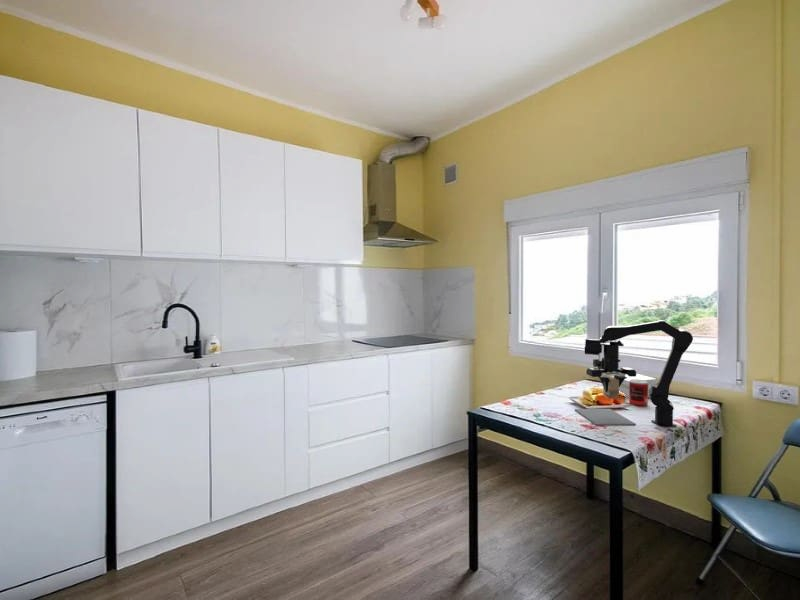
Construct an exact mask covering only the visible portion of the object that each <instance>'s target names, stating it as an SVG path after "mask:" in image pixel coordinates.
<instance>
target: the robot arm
mask: <svg viewBox="0 0 800 600" xmlns="http://www.w3.org/2000/svg"><path fill="white" fill-rule="evenodd" d="M660 331H662V332H663V333H664V334H667V335H668V336H669V337H672V342H671V348H670V349H671V350H670V352H669V355H668V358H667V359H666V362H665V365H664V368H663V370H662V372H661V375H660V377H659V380H657V384H656V385H655V384H653V383H652V386H651V389H650V390H649V395H650V397H649V399H650V402H651V403H652V404H653V406H655V407H654V408H655V409H654V419H652V420H651V422H652V423H653V424H655V425H657V426H659V427H677V426H678V425H677V424H675V423H674V409H675V407H674V405H673V403H672V401H671V400H670V399H669V394H670V387H671V383H672V381H673V379H674V376H675V374H676V371H677V368H678V366H679V365H680V361H681V360H682V356H683V355H684V353H685V352H686V351H687V350H688V348H689V347H690V345H691V344H692V343H693V340H694V337H693V335H692V333H690V332H689V331H687V329H679V328H677V327H675V326H673V325H671V324H669V323H667V322H666V321H665V320H662V319H660V320H655V321H652V322H651V321H650V322H644V323H639V324H633V325H626V326H625V325H609V326H607V327H605V329H604V331H603V334H602V336H601V337H599V339H591V338H585V340H584V341H585V342H584V345H585V346H584V355H588V356H589V355H591V356H600V354H603V356H602V358H601V360H600V359H593V360H592V365H593V367H587V369H586V375H588V376H589V377H592V378H599V380H600V382H601V384H602V386H603V387H604V390H605V392H607V391H608V380H609V378H608V377H609V376H607V375H613V376H614V378H616V379H618V380H619V387H620V385H621V384H622V382H623V381H624V379H627V377H625V375H628V376H630V377H636V374H637V371H636V369H634V368H631V367H619V365H620V362H621V359H620V358H619V355H620V354H619V353H620V352H619V351H620V350H619V349H620V347H624V343H623V342H622V341H621V340H620V339H623V338H625V337H629V336H632V335H639V334H640V335H641V334H646V333H652V332H653V333H654V332H660ZM608 341H609V342H608ZM607 342H608V343H607Z"/></svg>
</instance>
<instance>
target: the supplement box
mask: <svg viewBox="0 0 800 600" xmlns="http://www.w3.org/2000/svg"><path fill="white" fill-rule="evenodd" d="M610 377H613V378H614V375H610ZM625 377H627V379H624V381H623V382H622V384H621V385H620V387H619V391H620V392H622V393H624V394H625V396H626V398H625V399H628V400H629V381H630V380H632V379H638V380H644V381H647V382H648V398H650V395H649V390H650V389H651V386H652V383H653V384H655V385H656V384H657V383H658V380H657V378H654V377H651V376H647V375H643V374H641V373H640V374H639V373H636V377H630V376H628V375H627V374H625Z"/></svg>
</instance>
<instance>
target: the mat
mask: <svg viewBox="0 0 800 600" xmlns="http://www.w3.org/2000/svg"><path fill="white" fill-rule="evenodd" d="M574 411H575V412H576V413H578V414H580V415H581V416H582V417H583V418H585V419H587V420H588V421H589V422H590V423H592V424H593V425H595V426H636V425H637V424H636V423H635V422H633V420H630V419H629V418H627V417H625V416H623V415H622V414H620V413H618V412H616V411H614V410H613V409H611V408H574Z"/></svg>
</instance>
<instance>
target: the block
mask: <svg viewBox="0 0 800 600" xmlns="http://www.w3.org/2000/svg"><path fill="white" fill-rule="evenodd" d="M607 377H608V378H609V380H608V391H607V392H605V390H604V387H603V390H602V391H603V396H604V397H607V398H608V399H610V400H617V399H618V400H619V398H620V396H619V380H618V379H616V378H613V377H611V376H607Z"/></svg>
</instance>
